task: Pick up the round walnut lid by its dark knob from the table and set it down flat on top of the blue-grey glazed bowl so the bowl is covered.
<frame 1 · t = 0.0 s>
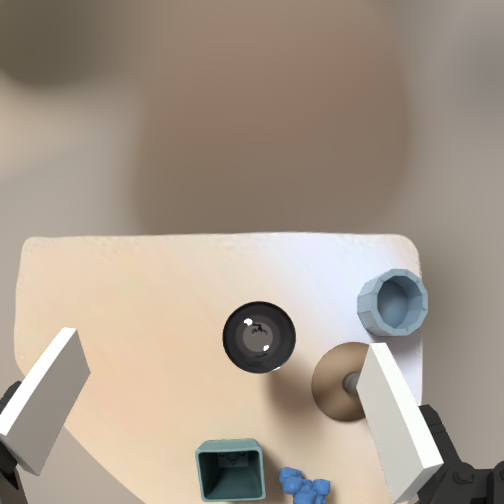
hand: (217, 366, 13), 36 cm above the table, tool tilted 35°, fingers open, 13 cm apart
lid: (350, 381, 47), on the table
grapes: (305, 478, 42), on the table
wine glass: (255, 336, 48), on the table
bowl: (384, 305, 50), on the table
flower pot: (233, 453, 44), on the table
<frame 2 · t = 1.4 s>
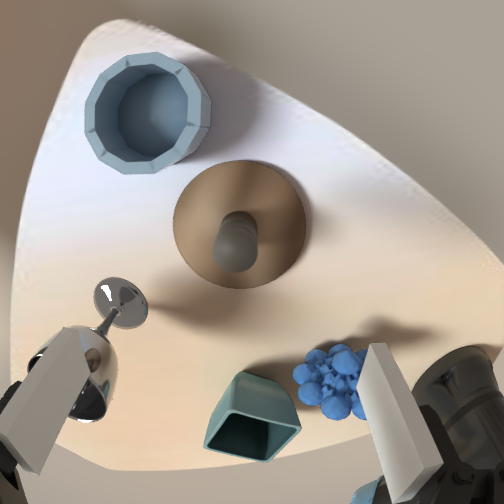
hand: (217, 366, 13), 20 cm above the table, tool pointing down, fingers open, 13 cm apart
lid: (239, 225, 32), on the table
grapes: (335, 340, 38), on the table
wine glass: (120, 303, 36), on the table
bowl: (159, 114, 28), on the table
flower pot: (251, 386, 40), on the table
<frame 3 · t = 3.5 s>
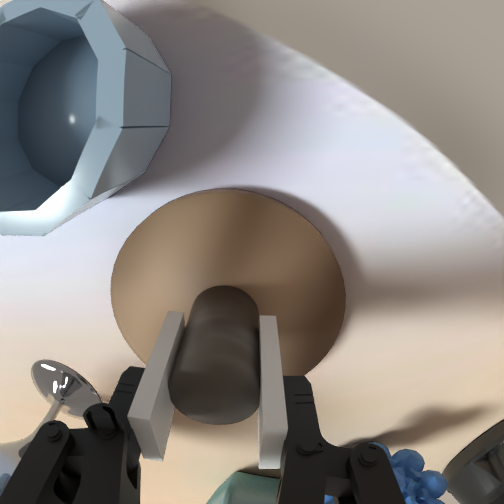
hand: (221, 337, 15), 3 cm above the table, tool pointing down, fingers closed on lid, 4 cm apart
lid: (226, 303, 18), on the table, touching gripper
grapes: (366, 437, 24), on the table
wine glass: (65, 390, 22), on the table
bowl: (82, 109, 14), on the table
flower pot: (250, 481, 27), on the table
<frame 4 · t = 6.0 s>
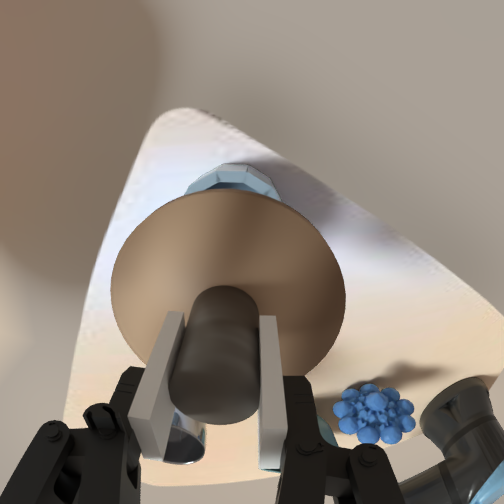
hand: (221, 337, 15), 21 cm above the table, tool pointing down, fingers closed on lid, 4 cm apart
lid: (226, 303, 18), point 18 cm above the table, touching gripper
grapes: (365, 380, 44), on the table
wine glass: (189, 359, 42), on the table
bowl: (234, 210, 35), on the table
flower pot: (294, 416, 47), on the table
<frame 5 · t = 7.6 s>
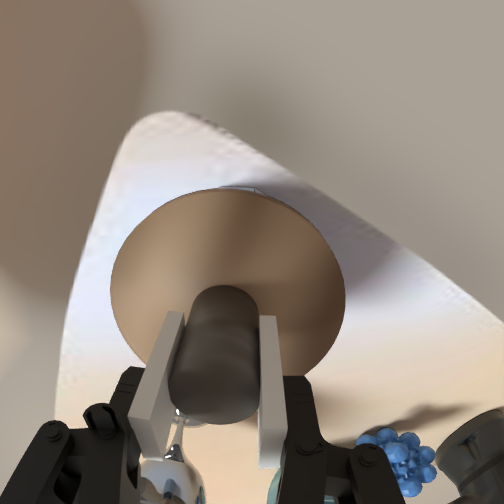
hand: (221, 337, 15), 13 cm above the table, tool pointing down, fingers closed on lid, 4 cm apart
lid: (226, 303, 18), point 9 cm above the table, touching gripper
grapes: (382, 424, 36), on the table
wine glass: (184, 409, 35), on the table
flower pot: (302, 461, 39), on the table
when the fingers open (11 cm above the table, at t = 8.6 s): lid drops 1 cm, resting on bowl.
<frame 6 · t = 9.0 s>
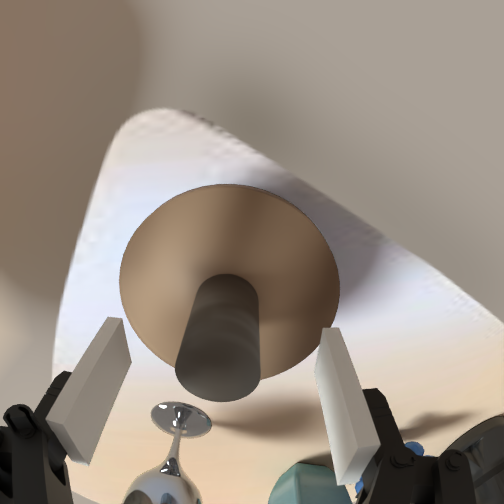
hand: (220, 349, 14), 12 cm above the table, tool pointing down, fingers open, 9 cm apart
lid: (228, 292, 19), point 6 cm above the table, touching bowl
wine glass: (180, 420, 33), on the table
flower pot: (303, 470, 38), on the table
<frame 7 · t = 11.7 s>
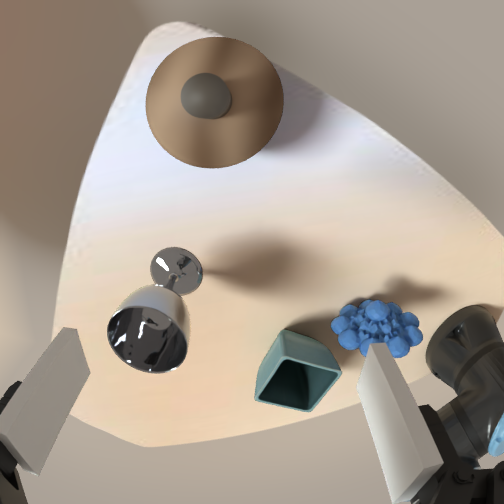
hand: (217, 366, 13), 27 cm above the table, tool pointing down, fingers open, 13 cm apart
lid: (214, 101, 28), point 6 cm above the table, touching bowl
grapes: (363, 297, 44), on the table
wine glass: (176, 271, 42), on the table
flower pot: (290, 344, 47), on the table
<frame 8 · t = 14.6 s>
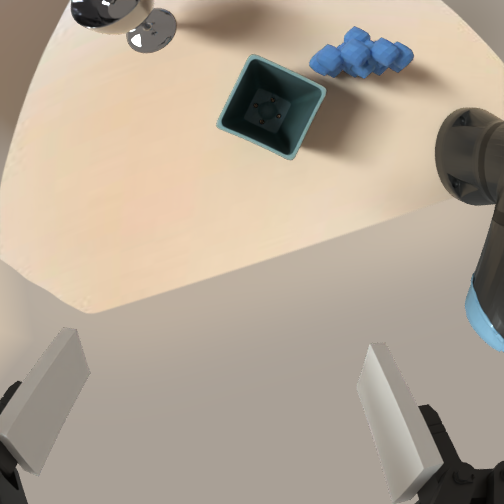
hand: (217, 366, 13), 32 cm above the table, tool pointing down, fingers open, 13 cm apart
grapes: (345, 61, 36), on the table
wine glass: (151, 30, 34), on the table
flower pot: (268, 110, 38), on the table
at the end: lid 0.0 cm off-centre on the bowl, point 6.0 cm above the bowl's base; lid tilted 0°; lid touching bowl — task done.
